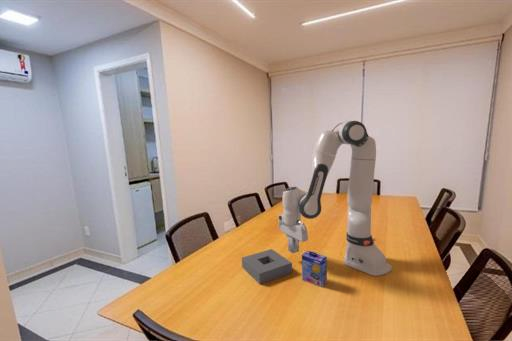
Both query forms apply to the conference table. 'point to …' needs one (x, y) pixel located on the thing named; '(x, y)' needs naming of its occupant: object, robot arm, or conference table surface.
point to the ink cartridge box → (314, 268)
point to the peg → (292, 245)
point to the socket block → (266, 266)
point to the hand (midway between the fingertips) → (293, 244)
